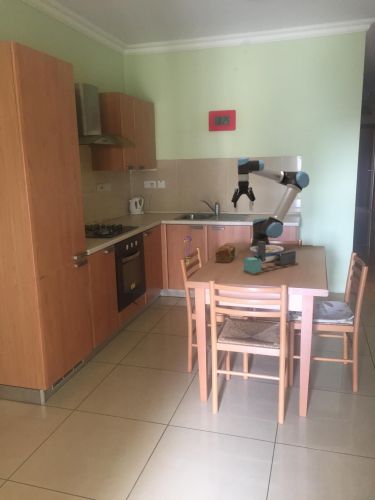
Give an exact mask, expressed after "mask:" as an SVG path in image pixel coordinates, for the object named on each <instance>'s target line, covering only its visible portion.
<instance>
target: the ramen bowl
mask: <svg viewBox="0 0 375 500" xmlns="http://www.w3.org/2000/svg"><path fill="white" fill-rule="evenodd" d="M249 249H250V251H251V253H252V254H253V255H254V256H255V258H257V245H256V246H253V247H251V246H250V248H249ZM281 251H285V248H284V247H283V246H280V245H274V244H270V245H266V257H270V256H274V253H276V252H281Z"/></svg>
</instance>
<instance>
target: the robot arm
mask: <svg viewBox="0 0 375 500" xmlns="http://www.w3.org/2000/svg"><path fill="white" fill-rule="evenodd" d="M250 174H253V175H256V176H258V177H261V178H264V179H268V180H271V181H275V182H276V183H277V184H280V185H283V186H285V187H286V189H285V192H284V194H283V195H282V197H281V198H280V201H279V202H278V205H277V206H276V207H275V210H274V211H273V214H272V215H271V216H269V217H267V218H254V219H253V220H252V240H251V243H250V248H251V247H253V246H256V245H257V242H258V241H264V242H266V245H271V244H270V240H269V239H277V238H279V237H281V236H282V234H283V232H284V220H285V218H286V216H287V215H288V212H289V210H291V209H290V208H291V206H292V205H293V203H294V201H295V200H296V197H297V195H298V194H299V193H301V192H302V191H303V189H305V188H307V187H308V186H309V185H310V176H309V174H308V173H307V172H305V171H301V170H300V171H285V170H276V169H273V168H270V167H267V166H265V162H264V161H263V160H261V159H257V160H255V159H254V160H250V159H249V157H239V158H238V159H237V187H238V188H236V187H235V188H234V192H233V195H232V198H231V203H233V209H234V213H239V206H238V204H239V203H238V201H239V199H240V197H241V196H242V195H246V196H247V198H248V200H249V202H248V204H249V205H248V206H249V211H253V209H254V208H253V206H254V202H255V201H256V197H255V194H254V191H253V187H251V186H250V181H249V180H250Z"/></svg>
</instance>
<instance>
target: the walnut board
mask: <svg viewBox="0 0 375 500" xmlns="http://www.w3.org/2000/svg"><path fill="white" fill-rule="evenodd" d="M297 265H299V263H298V262H296V261H295V263H292V264H288V265H284V266H278V265H275V264H274V263H270V264H267V265H261V272H257V273H251V272H248V271H244V269H243V271H242V272H243V273H245V274H249V275H251V276H254V275H255V276H256V275H260V274H264V273H268V272H272V271H276V270H281V269H285V268H289V267H294V266H297Z"/></svg>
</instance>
